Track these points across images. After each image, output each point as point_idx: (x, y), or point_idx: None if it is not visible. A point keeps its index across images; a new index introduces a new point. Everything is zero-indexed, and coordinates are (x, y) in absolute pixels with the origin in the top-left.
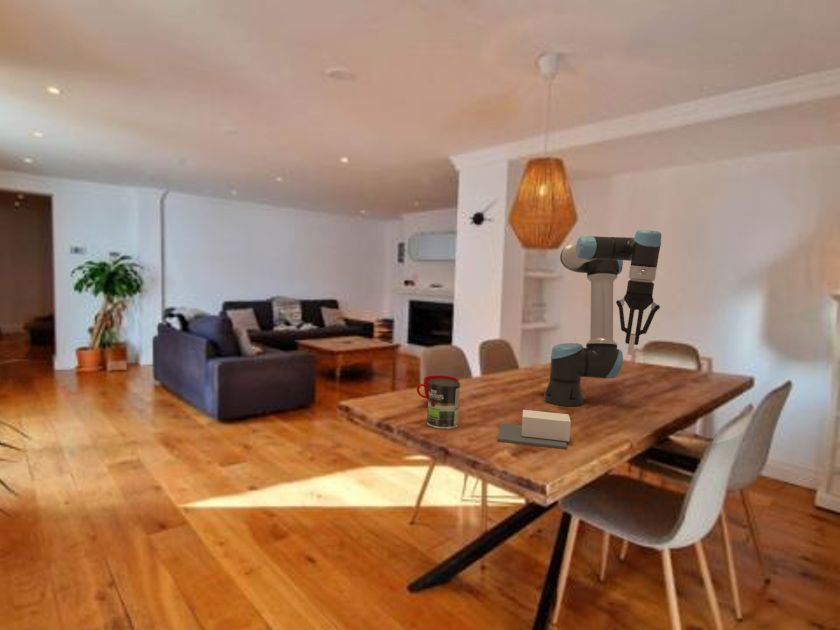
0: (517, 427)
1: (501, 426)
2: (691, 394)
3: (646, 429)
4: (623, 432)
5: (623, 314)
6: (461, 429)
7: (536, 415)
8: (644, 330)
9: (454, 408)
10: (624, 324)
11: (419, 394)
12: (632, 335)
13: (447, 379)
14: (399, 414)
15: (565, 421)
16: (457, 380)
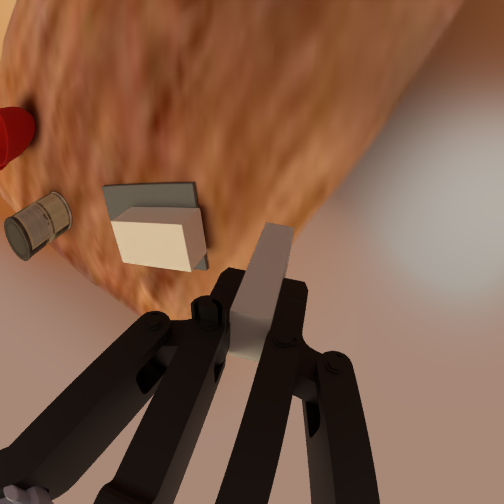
0: (125, 200)
1: (107, 204)
2: None
3: (385, 95)
4: (322, 136)
5: (100, 453)
6: (79, 223)
7: (136, 249)
8: (314, 409)
9: (52, 235)
10: (151, 394)
11: (6, 164)
12: (244, 353)
13: (9, 220)
14: (23, 193)
15: (183, 270)
16: (5, 124)
